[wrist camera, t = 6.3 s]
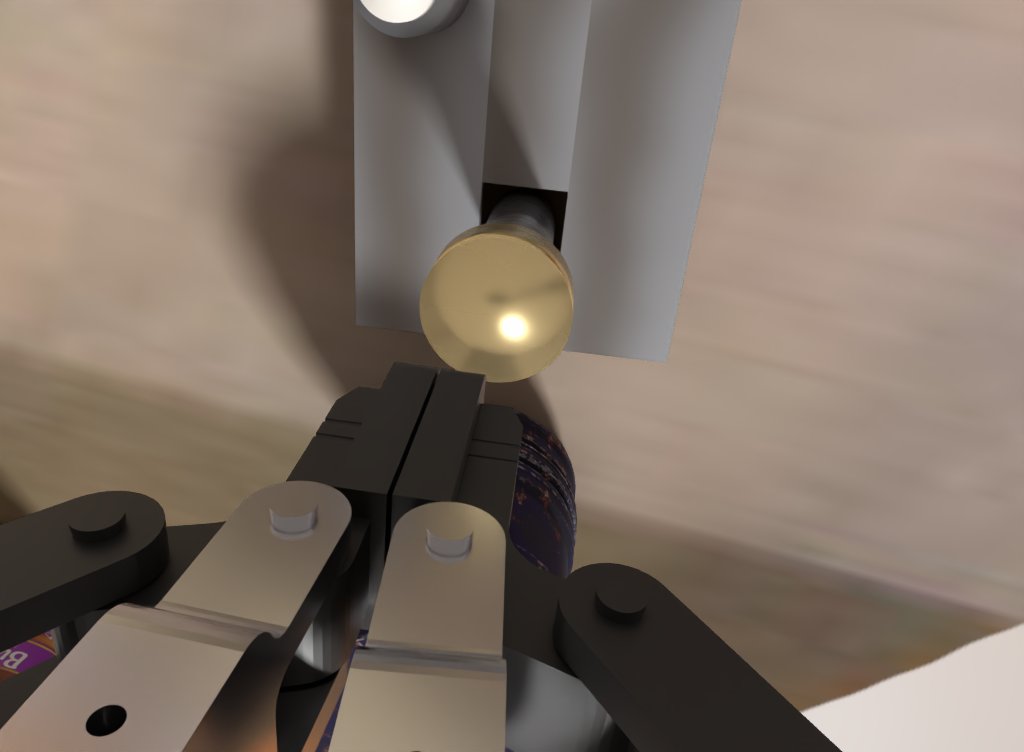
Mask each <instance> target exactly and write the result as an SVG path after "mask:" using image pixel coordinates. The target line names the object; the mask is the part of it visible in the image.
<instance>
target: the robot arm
mask: <svg viewBox="0 0 1024 752" xmlns="http://www.w3.org/2000/svg"><path fill="white" fill-rule="evenodd" d="M485 385H486V375H485V374H478V373H471V372H463V371H456V370H449V369H442V370H441V372H440V369H439V368H433V367H426V366H419V365H412V364H405V363H397V362H395V363H394V364H393V366H392V368H391V370H390V372H389V374H388V375H387V377H386V379H385V381H384V383H383V385H382V387H381V389H380V390H379V389H371V388H364V387H358V388H356V389H354V390H353V391H351V392H349V393H348V394H346V395H344V396H343V397H341V398H339V399H338V400H336V402H335V404H334V405H333V407H332V408H331V410H330V412H329V413H328V415H327V416H326V418H325V422H323V423H322V424H321V426H320V428H319V429H318V431H317V432H316V437H315V436H314V437H313V439H312V440H311V442H310V444H309V445H308V447H307V448H306V450H305V452H304V453H303V455H302V456H301V458H300V460H299V461H298V463H297V464H296V466H295V468H294V469H293V471H292V472H291V474H290V476H289V477H288V479H287V480H286V482H281V483H277V484H273V485H270V486H267V487H264V488H262V489H260V490H258V491H256V492H254V493H253V494H251V495H250V496H249V497H247V498H246V499H245V500H244V501H243V502H242V503H241V504H240V505H239V507H238V508H237V509H236V510H235V512H234V513H233V514H232V515H231V516H230V518H229V519H228V520H227V521H224V522H218V523H210V524H196V525H183V526H169V527H166V521H165V514H164V511H163V508H162V507H161V506H160V504H159V503H158V502H156V501H155V500H154V499H152V498H150V497H148V496H146V495H143V494H140V493H135V492H129V491H107V492H99V493H94V494H89V495H85V496H82V497H78V498H75V499H72V500H70V501H67V502H64V503H61V504H58V505H55V506H53V507H50V508H47V509H44V510H41V511H38V512H36V513H33V514H30V515H27V516H24V517H21V518H19V519H16V520H13V521H10V522H7V523H4V524H2V525H0V653H1V652H4V651H6V650H8V649H10V648H12V647H15V646H17V645H19V644H21V643H23V642H26V641H28V640H30V639H32V638H34V637H37V636H39V635H41V634H43V633H45V632H48V631H51V635H52V639H53V643H54V647H55V651H56V656H54V657H52V658H49V659H47V660H45V661H43V662H41V663H39V664H37V665H35V666H33V667H31V668H29V669H26V670H24V671H22V672H20V673H18V674H16V675H14V676H12V677H10V678H8V679H6V680H3V681H1V682H0V752H315V751H316V748H317V746H318V744H319V742H320V739H321V737H322V735H323V733H324V730H325V728H326V726H327V724H328V722H329V719H330V717H331V715H332V713H333V710H334V708H335V706H336V704H337V701H338V699H339V697H340V695H341V693H342V690H343V688H344V686H345V689H344V693H343V697H342V700H341V704H340V708H339V712H338V716H337V720H336V724H335V728H334V732H333V735H332V739H331V743H330V747H329V751H328V752H505V747H506V748H508V749H510V750H512V751H514V752H842V751H841V750H840V749H839V748H838V747H837V746H835V744H833V743H832V742H831V741H830V740H829V739H828V738H827V737H826V736H825V735H824V734H823V733H821V731H819V730H818V729H817V728H816V727H815V726H814V725H813V724H812V723H811V722H810V721H809V720H808V719H807V718H806V717H804V716H803V715H802V714H801V713H800V712H799V711H798V710H797V709H796V708H795V707H794V706H793V705H792V704H790V703H789V702H788V701H787V700H786V699H785V698H784V697H783V696H782V695H781V694H780V693H779V692H778V691H777V690H775V689H774V688H773V687H772V686H771V685H770V684H769V683H768V682H767V681H766V680H765V679H764V678H763V677H761V676H760V675H759V674H758V673H757V672H756V671H755V670H754V669H753V668H752V667H751V666H750V665H749V664H748V663H746V662H745V661H744V660H743V659H742V658H741V657H740V656H739V655H738V654H737V653H736V652H735V651H734V650H732V649H731V648H730V647H729V646H728V645H727V644H726V643H725V642H724V641H723V640H722V639H721V638H720V637H719V636H717V635H716V634H715V633H714V632H713V631H712V630H711V629H710V628H709V627H708V626H707V625H706V624H705V623H703V622H702V621H701V620H700V619H699V618H698V617H697V616H696V615H695V614H694V613H693V612H692V611H691V610H690V609H688V608H687V607H686V606H685V605H684V604H683V603H682V602H681V601H680V600H679V599H678V598H677V597H676V596H675V595H673V594H672V593H671V592H670V591H669V590H668V589H667V588H666V587H665V586H664V585H662V584H661V583H660V582H659V581H658V580H656V579H655V578H653V577H652V576H650V575H648V574H646V573H644V572H642V571H640V570H638V569H635V568H632V567H629V566H625V565H620V564H613V563H598V564H591V565H587V566H584V567H581V568H579V569H577V570H575V571H574V572H572V573H571V574H570V575H568V577H567V578H566V579H564V578H561V577H559V576H556V575H554V574H551V573H549V572H547V571H545V570H542V569H540V568H539V567H537V566H535V565H534V564H532V563H531V562H529V561H528V560H527V559H526V558H524V557H523V556H522V555H521V554H520V553H519V551H518V550H517V549H516V547H515V546H514V544H513V542H512V540H511V538H510V534H509V525H510V518H511V511H512V505H513V497H514V490H515V483H516V475H517V468H518V461H519V453H520V446H521V439H522V431H523V425H522V423H521V422H520V420H519V418H518V416H517V415H516V413H515V411H514V409H513V408H509V407H501V406H494V405H487V404H484V395H485ZM360 629H364V630H369V633H368V637H367V641H366V645H365V646H358V647H357V648H356V650H355V653H354V656H353V659H352V662H351V666H350V655H351V653H352V651H353V648H354V646H355V643H356V640H357V637H358V634H359V632H360ZM345 684H346V685H345Z"/></svg>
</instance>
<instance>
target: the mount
mask: <svg viewBox="0 0 1024 752" xmlns="http://www.w3.org/2000/svg"><path fill="white" fill-rule="evenodd" d="M741 1H742V0H469V1H468V4H467V6H466V8H465V10H464V12H463V13H462V15H461V16H460V17H459V19H458V20H457V21H456V22H455V23H453V24H452V25H451V26H449V27H448V28H446V29H444V30H442V31H439V32H435V33H430V34H426V35H421V36H416V37H409V38H399V37H393V36H390V35H387V34H385V33H383V32H381V31H379V30H377V29H376V28H374V27H373V26H372V25H370V24H369V23H368V22H367V21H366V20H365V19H364V18H363V16H362V15H361V14H360V12H359V11H358V9H357V8H356V6H355V4H354V2H353V55H354V178H355V300H356V325H357V326H365V327H374V328H382V329H390V330H399V331H407V332H415V333H423V334H425V333H424V330H423V327H422V324H421V319H420V307H419V304H420V295H421V291H422V287H423V285H424V282H425V280H426V277H427V276H428V274H429V272H430V271H431V269H432V267H433V266H434V264H435V262H436V260H437V259H438V257H439V255H440V254H441V252H442V251H443V249H444V248H445V247H446V246H447V244H448V243H450V242H451V241H452V240H453V239H454V238H455V237H457V236H458V235H459V234H461V233H462V232H464V231H466V230H468V229H470V228H473V227H476V226H478V225H483V224H486V223H487V220H488V218H489V216H490V214H491V212H492V210H493V207H494V205H495V204H496V202H497V200H498V199H499V198H500V197H501V196H502V195H503V194H505V193H506V192H508V191H510V190H513V189H516V188H530V189H534V190H536V191H538V192H540V193H542V194H543V195H544V196H545V197H547V199H548V200H549V201H550V202H551V204H552V206H553V208H554V211H555V215H556V226H555V233H554V240H553V245H554V246H555V247H556V248H557V249H558V251H559V252H560V253H561V255H562V256H563V258H564V259H565V261H566V263H567V265H568V267H569V270H570V273H571V275H572V280H573V285H574V304H573V322H572V327H571V332H570V335H569V338H568V340H567V343H566V344H565V346H564V348H563V350H564V351H572V352H581V353H589V354H597V355H606V356H614V357H622V358H630V359H639V360H647V361H655V362H663V363H667V358H668V353H669V348H670V344H671V339H672V334H673V329H674V324H675V319H676V315H677V310H678V305H679V300H680V295H681V290H682V286H683V281H684V276H685V271H686V266H687V261H688V257H689V252H690V247H691V242H692V237H693V232H694V228H695V223H696V218H697V213H698V208H699V203H700V199H701V194H702V189H703V184H704V179H705V174H706V170H707V165H708V160H709V155H710V150H711V145H712V141H713V136H714V131H715V126H716V121H717V116H718V112H719V107H720V102H721V97H722V92H723V87H724V83H725V78H726V73H727V68H728V63H729V58H730V54H731V49H732V44H733V39H734V34H735V29H736V25H737V20H738V15H739V10H740V5H741Z"/></svg>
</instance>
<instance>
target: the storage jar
mask: <svg viewBox="0 0 1024 752" xmlns="http://www.w3.org/2000/svg"><path fill="white" fill-rule="evenodd" d="M494 406H496V405H494ZM515 413H516V415H517V416H518V418H519V420H520V422H521V423H522V425H523V431H522V439H521V446H520V453H519V461H518V468H517V475H516V483H515V490H514V497H513V505H512V511H511V518H510V525H509V534H510V538H511V540H512V542H513V544H514V546H515V547H516V549H517V550H518V551H519V553H520V554H521V555H522V556H523V557H524V558H526V559H527V560H528V561H529V562H531V563H532V564H534V565H535V566H537V567H539V568H540V569H542V570H545V571H547V572H549V573H551V574H554V575H556V576H559V577H561V578H564V579H566V578H567V577H568V575H570V573H571V570H572V565H573V556H574V546H575V540H576V528H577V515H576V505H575V501H574V500H575V476H574V472H573V468H572V464H571V461H570V459H569V457H568V455H567V453H566V451H565V450H564V448H563V447H562V445H561V444H560V443H559V441H558V440H557V439H556V438H555V437H554V436H553V435H552V434H551V433H550V432H549V431H548V430H547V429H546V428H545V427H543V426H542V425H541V424H539V423H538V422H537V421H535V420H533V419H531V418H530V417H528V416H526V415H524V414H522V413H519V412H517V411H515ZM368 633H369V630H364V629H360V632H359V634H358V637H357V640H356V643H355V646H354V648H353V651H352V653H351V655H350V666H351V662H352V659H353V656H354V653H355V650H356V648H357V647H358V646H365V645H366V641H367V637H368ZM345 685H346V684H345ZM344 689H345V686H344V688H343V690H342V693H341V695H340V697H339V699H338V701H337V704H336V706H335V708H334V710H333V713H332V715H331V717H330V719H329V722H328V724H327V726H326V728H325V730H324V733H323V735H322V737H321V739H320V742H319V744H318V746H317V748H316V751H315V752H328V751H329V747H330V743H331V739H332V735H333V732H334V728H335V724H336V720H337V716H338V712H339V708H340V704H341V700H342V697H343V693H344ZM505 752H514V751H512V750H510V749H508V748H506V747H505Z"/></svg>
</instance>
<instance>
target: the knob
mask: <svg viewBox="0 0 1024 752" xmlns="http://www.w3.org/2000/svg"><path fill="white" fill-rule="evenodd" d="M555 226H556V215H555V211H554V208H553V206H552V204H551V202H550V201H549V200H548V199H547V197H545V196H544V195H543V194H542V193H540V192H538V191H536V190H534V189H530V188H516V189H513V190H510V191H508V192H506V193H505V194H503V195H502V196H501V197H500V198H499V199H498V200H497V202H496V204H495V205H494V207H493V210H492V212H491V214H490V216H489V218H488V220H487V223H486V224H483V225H478V226H476V227H473V228H470V229H468V230H466V231H464V232H462V233H461V234H459V235H458V236H457V237H455V238H454V239H453V240H452V241H451V242H450V243H448V244H447V246H446V247H445V248H444V249H443V251H442V252H441V254H440V255H439V257H438V259H437V260H436V262H435V264H434V266H433V267H432V269H431V271H430V272H429V274H428V276H427V277H426V280H425V282H424V285H423V287H422V291H421V295H420V304H419V307H420V319H421V324H422V327H423V330H424V333H425V335H426V337H427V340H428V342H429V343H430V345H431V346H432V348H433V349H434V351H435V352H436V353H437V354H438V355H439V357H440V358H441V359H442V360H444V361H445V362H446V363H447V364H448V365H449V366H451V367H452V368H453V369H455V370H457V371H463V372H471V373H478V374H485V375H486V381H487V382H497V383H502V382H513V381H518V380H522V379H525V378H528V377H530V376H532V375H535V374H537V373H538V372H540V371H542V370H543V369H545V368H546V367H547V366H548V365H550V364H551V363H552V362H553V361H554V360H555V359H556V358H557V357H558V355H559V354H560V353H561V351H562V350H563V348H564V346H565V344H566V343H567V340H568V338H569V335H570V332H571V327H572V322H573V304H574V285H573V280H572V275H571V273H570V270H569V267H568V265H567V263H566V261H565V259H564V258H563V256H562V255H561V253H560V252H559V251H558V249H557V248H556V247H555V246H554V245H553V240H554V233H555Z"/></svg>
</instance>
